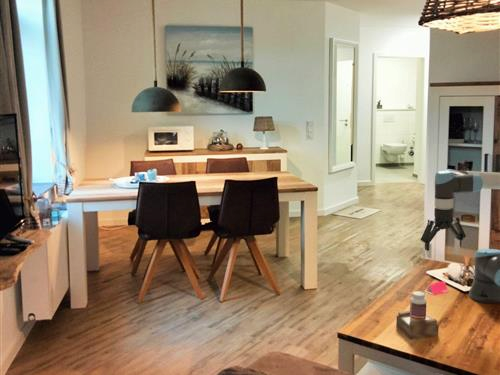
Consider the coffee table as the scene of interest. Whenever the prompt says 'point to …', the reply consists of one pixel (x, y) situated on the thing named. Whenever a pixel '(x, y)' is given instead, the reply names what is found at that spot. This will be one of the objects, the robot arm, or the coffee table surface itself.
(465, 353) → the coffee table surface
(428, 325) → the brown square open box
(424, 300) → the pill bottle
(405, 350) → the coffee table surface
